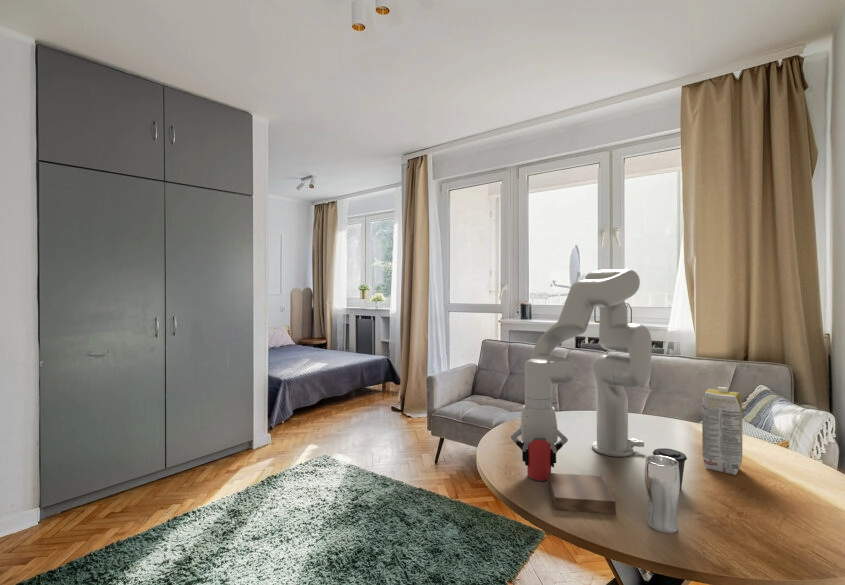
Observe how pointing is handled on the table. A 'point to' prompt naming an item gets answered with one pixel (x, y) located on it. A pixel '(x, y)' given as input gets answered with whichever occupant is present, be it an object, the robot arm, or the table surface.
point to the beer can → (539, 459)
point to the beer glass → (662, 492)
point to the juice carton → (722, 430)
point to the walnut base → (581, 493)
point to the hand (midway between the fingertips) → (539, 464)
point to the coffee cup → (675, 455)
